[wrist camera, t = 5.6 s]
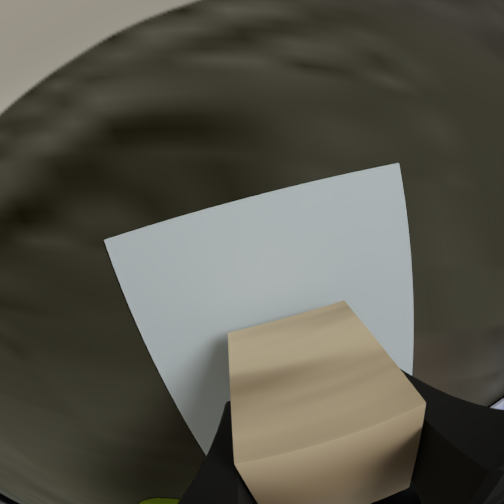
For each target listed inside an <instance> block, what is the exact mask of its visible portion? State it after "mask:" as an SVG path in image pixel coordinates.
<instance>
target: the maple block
mask: <svg viewBox="0 0 504 504" xmlns="http://www.w3.org/2000/svg"><path fill="white" fill-rule="evenodd" d="M228 353H229V377H230V398H231V418H232V436H233V453H234V465H235V466H236V468H237V470H238V472H239V473H240V475H241V477H242V478H243V480H244V482H245V483H246V485H247V487H248V488H249V490H250V492H251V493H252V495H253V497H254V498H255V500H256V502H257V503H258V504H370V503H372V502H375V501H378V500H380V499H383V498H385V497H388V496H390V495H392V494H395V493H397V492H399V491H402V490H404V489H406V488H408V487H409V485H410V481H411V477H412V473H413V469H414V465H415V461H416V456H417V452H418V447H419V442H420V437H421V432H422V426H423V420H424V414H425V408H426V402H425V400H424V399H423V398H422V397H421V395H420V394H419V393H418V391H417V390H416V389H415V387H414V386H413V385H412V384H411V382H410V381H409V380H408V379H407V377H406V376H405V375H404V373H403V372H402V371H401V370H400V368H399V367H398V366H397V365H396V363H395V362H394V361H393V360H392V358H391V357H390V356H389V355H388V353H387V352H386V351H385V350H384V348H383V347H382V346H381V345H380V343H379V342H378V341H377V340H376V338H375V337H374V336H373V335H372V333H371V332H370V331H369V330H368V329H367V327H366V326H365V325H364V324H363V322H362V321H361V320H360V319H359V318H358V316H357V315H356V314H355V313H354V312H353V310H352V309H351V308H350V307H349V306H348V304H347V303H346V302H345V301H344V300H343V301H340V302H337V303H334V304H331V305H327V306H324V307H321V308H317V309H314V310H311V311H307V312H304V313H300V314H297V315H293V316H290V317H286V318H283V319H279V320H276V321H272V322H268V323H264V324H261V325H257V326H253V327H249V328H245V329H241V330H238V331H234V332H230V333H228Z"/></svg>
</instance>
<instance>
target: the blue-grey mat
mask: <svg viewBox="0 0 504 504" xmlns="http://www.w3.org/2000/svg"><path fill="white" fill-rule="evenodd" d="M104 242H105V245H106V248H107V251H108V253H109V256H110V259H111V262H112V265H113V267H114V270H115V273H116V275H117V278H118V280H119V283H120V286H121V288H122V291H123V293H124V296H125V298H126V301H127V303H128V305H129V308H130V310H131V313H132V315H133V317H134V320H135V322H136V324H137V326H138V329H139V331H140V333H141V335H142V338H143V340H144V342H145V344H146V346H147V348H148V351H149V353H150V355H151V357H152V359H153V361H154V363H155V365H156V367H157V369H158V371H159V373H160V375H161V377H162V379H163V381H164V383H165V385H166V387H167V389H168V391H169V393H170V394H171V396H172V398H173V400H174V402H175V404H176V405H177V407H178V409H179V411H180V413H181V414H182V416H183V418H184V420H185V422H186V423H187V425H188V427H189V428H190V430H191V432H192V434H193V435H194V437H195V439H196V440H197V442H198V444H199V445H200V447H201V448H202V450H203V452H204V453H205V455H206V456H207V454H208V452H209V449H210V447H211V445H212V442H213V440H214V437H215V435H216V432H217V429H218V426H219V423H220V420H221V417H222V414H223V410H224V407H225V404H226V402H227V401H231V398H230V377H229V353H228V333H230V332H234V331H238V330H241V329H245V328H249V327H253V326H257V325H261V324H264V323H268V322H272V321H276V320H279V319H283V318H286V317H290V316H293V315H297V314H300V313H304V312H307V311H311V310H314V309H317V308H321V307H324V306H327V305H331V304H334V303H337V302H340V301H343V300H344V301H345V302H346V303H347V304H348V306H349V307H350V308H351V309H352V310H353V312H354V313H355V314H356V315H357V316H358V318H359V319H360V320H361V321H362V322H363V324H364V325H365V326H366V327H367V329H368V330H369V331H370V332H371V333H372V335H373V336H374V337H375V338H376V340H377V341H378V342H379V343H380V345H381V346H382V347H383V348H384V350H385V351H386V352H387V353H388V355H389V356H390V357H391V358H392V360H393V361H394V362H395V363H396V365H397V366H398V367H399V368H400V369H402V370H403V371H405V372H406V373H408V374H410V375H411V376H412V367H413V334H414V314H413V281H412V264H411V251H410V239H409V229H408V220H407V212H406V204H405V197H404V190H403V184H402V178H401V172H400V166H399V163H396V164H391V165H386V166H381V167H376V168H371V169H366V170H361V171H357V172H352V173H348V174H343V175H339V176H334V177H330V178H325V179H321V180H317V181H312V182H308V183H304V184H300V185H296V186H291V187H287V188H283V189H279V190H275V191H271V192H267V193H263V194H260V195H256V196H252V197H248V198H244V199H240V200H237V201H233V202H229V203H225V204H222V205H218V206H215V207H211V208H207V209H204V210H200V211H197V212H193V213H190V214H186V215H183V216H179V217H176V218H173V219H169V220H166V221H163V222H159V223H156V224H153V225H149V226H146V227H143V228H140V229H136V230H133V231H130V232H127V233H124V234H121V235H117V236H114V237H111V238H108V239H105V240H104Z"/></svg>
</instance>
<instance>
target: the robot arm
mask: <svg viewBox="0 0 504 504" xmlns="http://www.w3.org/2000/svg"><path fill="white" fill-rule="evenodd" d="M400 370H401V371H402V372H403V373H404V375H405V376H406V377H407V379H408V380H409V381H410V382H411V384H412V385H413V386H414V387H415V389H416V390H417V391H418V393H419V394H420V395H421V397H422V398H423V399H424V400H425V402H426V408H425V414H424V420H423V426H422V432H421V437H420V442H419V447H418V452H417V456H416V461H415V465H414V469H413V473H412V477H411V480H412V482H413V485H414V487H415V489H416V492H417V494H418V497H419V499H420V501H421V504H504V398H503V399H501V400H500V401H498V402H497V403H495V404H494V405H492V406H491V407H486V406H482V405H478V404H474V403H471V402H468V401H465V400H462V399H459V398H456V397H453V396H451V395H448V394H446V393H444V392H442V391H440V390H438V389H435V388H433V387H431V386H429V385H428V384H426V383H424V382H422V381H420V380H418V379H417V378H415V377H413V376H411V375H410V374H408V373H406V372H405V371H403V370H402V369H400ZM177 504H258V503H257V502H256V500H255V498H254V497H253V495H252V493H251V492H250V490H249V488H248V487H247V485H246V483H245V482H244V480H243V478H242V477H241V475H240V473H239V472H238V470H237V468H236V466H235V465H234V453H233V436H232V418H231V401H227V402H226V404H225V407H224V410H223V414H222V417H221V420H220V423H219V426H218V429H217V432H216V435H215V437H214V440H213V442H212V445H211V447H210V449H209V452H208V454H207V456H206V458H205V460H204V462H203V464H202V466H201V468H200V470H199V472H198V473H197V475H196V477H195V479H194V480H193V482H192V483H191V485H190V487H189V488H188V490H187V491H186V492H185V494H184V495H183V497H182V498H181V499H180V501H179V502H178V503H177Z"/></svg>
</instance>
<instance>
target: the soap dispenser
mask: <svg viewBox="0 0 504 504" xmlns="http://www.w3.org/2000/svg"><path fill="white" fill-rule="evenodd" d="M179 501H180V500H179V499H172V498H152V499H147V500H144V501H142V502H140V503H139V504H177V503H178V502H179Z"/></svg>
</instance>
